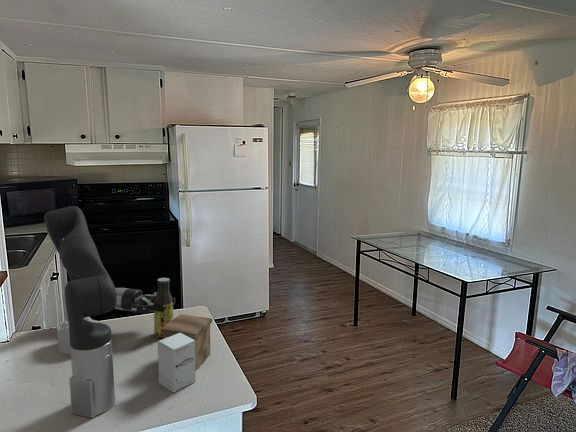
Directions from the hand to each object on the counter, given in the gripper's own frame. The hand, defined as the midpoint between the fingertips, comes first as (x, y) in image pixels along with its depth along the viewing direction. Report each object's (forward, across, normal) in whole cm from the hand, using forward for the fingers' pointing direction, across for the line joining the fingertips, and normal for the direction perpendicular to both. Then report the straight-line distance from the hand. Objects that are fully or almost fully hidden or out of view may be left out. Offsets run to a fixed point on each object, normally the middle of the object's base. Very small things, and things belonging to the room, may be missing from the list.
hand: (169, 304), depth 139 cm
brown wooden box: (+14, -13, +11) cm, 22 cm away
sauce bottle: (-2, 0, +11) cm, 11 cm away
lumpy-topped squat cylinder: (-24, -15, +11) cm, 31 cm away
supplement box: (+16, -24, +11) cm, 31 cm away
